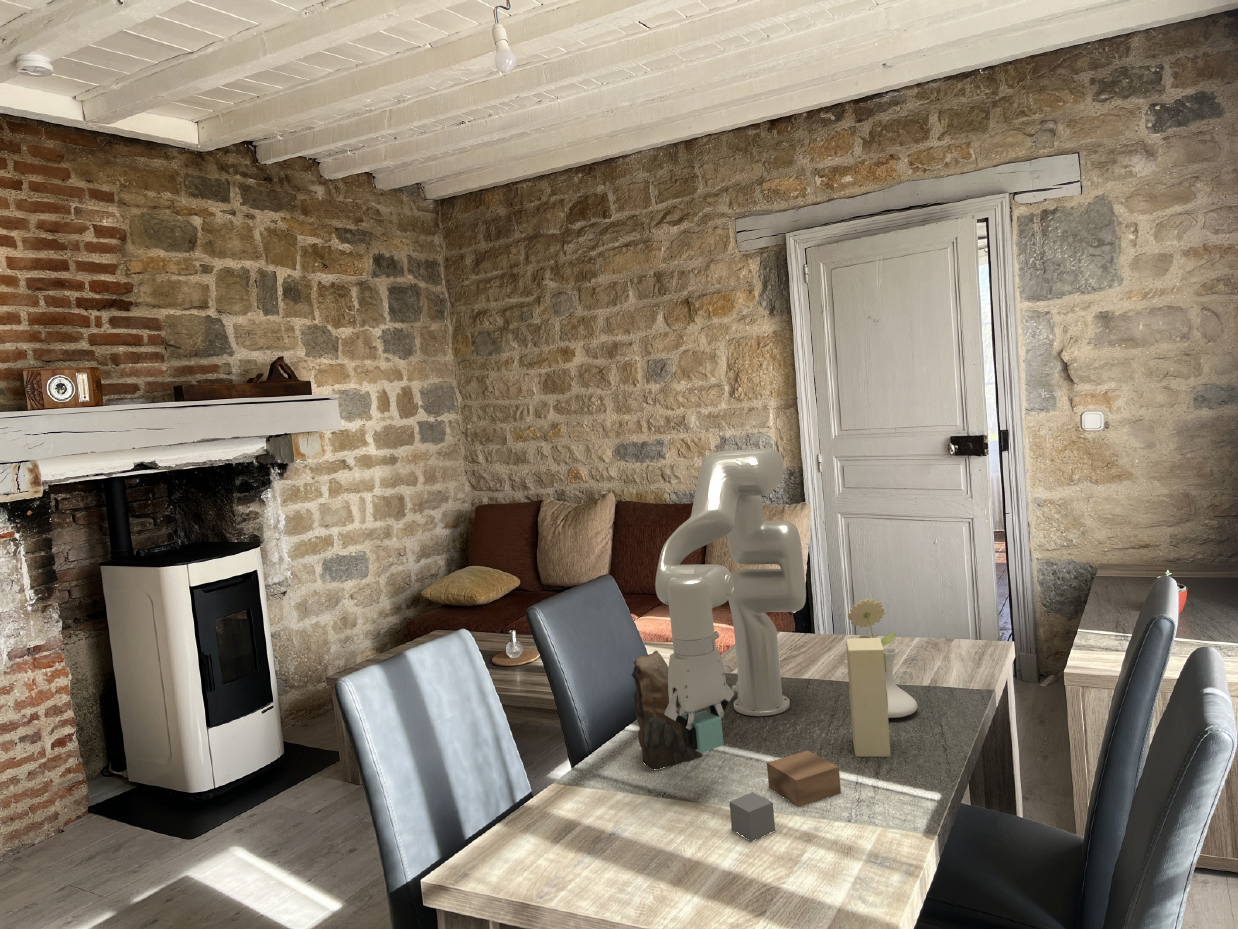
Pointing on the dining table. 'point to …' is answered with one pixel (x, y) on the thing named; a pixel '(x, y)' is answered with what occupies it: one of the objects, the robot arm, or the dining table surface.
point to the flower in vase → (897, 698)
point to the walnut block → (803, 778)
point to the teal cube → (707, 731)
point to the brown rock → (657, 715)
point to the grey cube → (752, 816)
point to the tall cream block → (868, 697)
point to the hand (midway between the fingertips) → (703, 741)
